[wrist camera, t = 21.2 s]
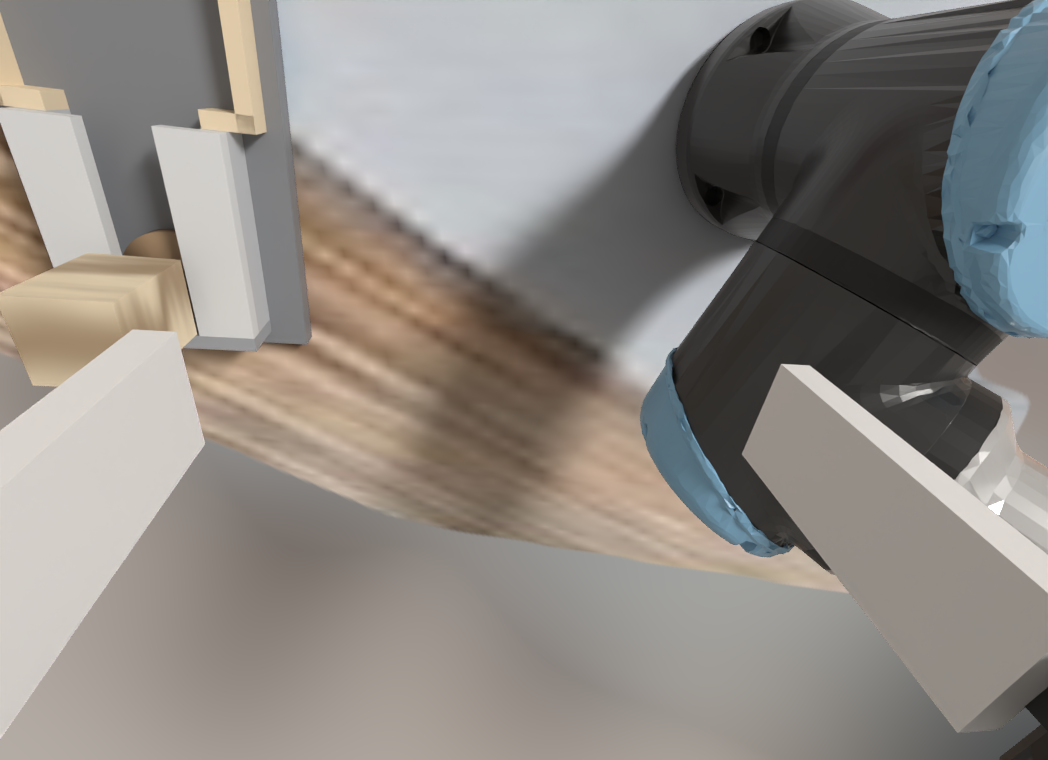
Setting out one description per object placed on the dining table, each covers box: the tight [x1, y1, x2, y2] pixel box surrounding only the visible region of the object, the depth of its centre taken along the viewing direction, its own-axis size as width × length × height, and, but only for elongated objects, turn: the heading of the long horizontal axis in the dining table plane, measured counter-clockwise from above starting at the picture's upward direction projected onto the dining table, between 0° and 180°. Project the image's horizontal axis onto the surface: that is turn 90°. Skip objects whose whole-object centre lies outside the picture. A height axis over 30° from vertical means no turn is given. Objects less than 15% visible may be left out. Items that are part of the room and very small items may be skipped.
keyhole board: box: [0, 0, 312, 352], centre depth 30 cm, size 28×16×5 cm, turn 173°
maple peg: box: [0, 229, 197, 387], centre depth 30 cm, size 6×6×12 cm
